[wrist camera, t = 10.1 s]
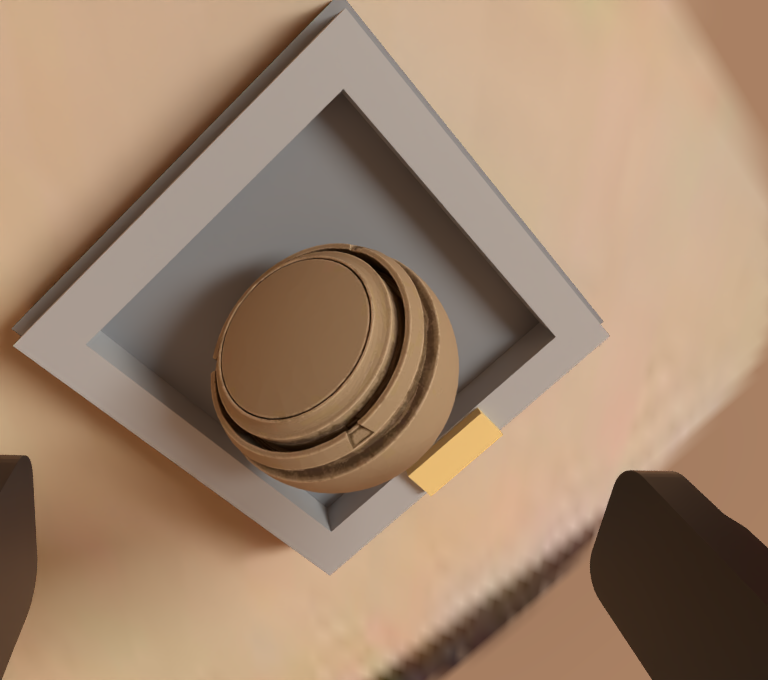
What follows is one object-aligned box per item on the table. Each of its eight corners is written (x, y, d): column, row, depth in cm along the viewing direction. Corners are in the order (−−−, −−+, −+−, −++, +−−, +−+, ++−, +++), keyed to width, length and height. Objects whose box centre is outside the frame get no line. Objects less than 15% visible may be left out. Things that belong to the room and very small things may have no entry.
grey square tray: (28, 310, 15) (-12, 351, 13) (334, -2, 14) (348, -16, 12) (322, 532, 19) (330, 594, 17) (582, 306, 18) (629, 340, 16)
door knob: (440, 231, 15) (518, 298, 11) (411, 418, 17) (467, 546, 12) (221, 211, 14) (202, 278, 9) (215, 413, 16) (196, 551, 11)
